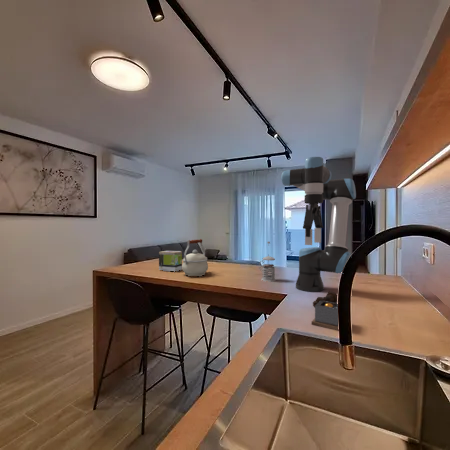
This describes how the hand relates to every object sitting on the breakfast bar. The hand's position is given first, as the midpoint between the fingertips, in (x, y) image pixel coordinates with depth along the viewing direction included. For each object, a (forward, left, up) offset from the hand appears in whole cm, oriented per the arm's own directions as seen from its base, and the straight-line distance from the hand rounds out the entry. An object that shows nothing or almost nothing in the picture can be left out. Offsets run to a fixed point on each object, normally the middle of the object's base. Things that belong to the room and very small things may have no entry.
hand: (313, 243), depth 113 cm
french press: (-42, -41, -29) cm, 65 cm away
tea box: (-29, -116, -29) cm, 123 cm away
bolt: (-10, +2, -29) cm, 31 cm away
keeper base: (+11, +9, -29) cm, 32 cm away
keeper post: (+11, +9, -28) cm, 31 cm away
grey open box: (+11, +9, -28) cm, 31 cm away
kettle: (-29, -90, -29) cm, 99 cm away
